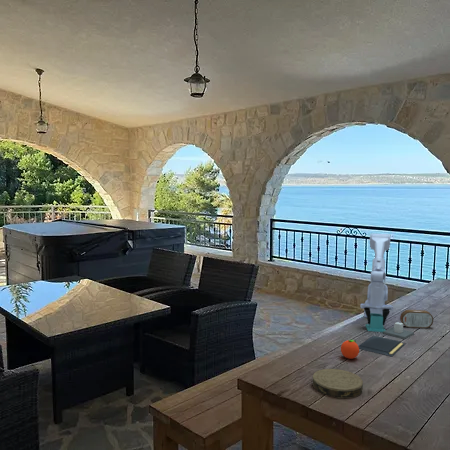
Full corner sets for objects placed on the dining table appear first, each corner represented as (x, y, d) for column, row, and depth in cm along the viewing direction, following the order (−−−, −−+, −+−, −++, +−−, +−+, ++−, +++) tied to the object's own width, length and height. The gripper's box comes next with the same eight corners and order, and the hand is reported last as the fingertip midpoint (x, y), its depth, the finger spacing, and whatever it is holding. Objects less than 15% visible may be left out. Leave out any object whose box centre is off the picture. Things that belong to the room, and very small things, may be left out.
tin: (431, 327, 206) (432, 310, 206) (433, 329, 203) (434, 312, 202) (399, 325, 208) (400, 308, 207) (401, 327, 204) (402, 310, 204)
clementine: (347, 352, 170) (348, 335, 169) (363, 357, 165) (364, 339, 164) (336, 357, 164) (337, 339, 164) (353, 363, 159) (354, 344, 159)
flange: (367, 330, 198) (368, 316, 198) (365, 325, 206) (366, 312, 206) (385, 332, 197) (386, 317, 196) (382, 327, 205) (383, 313, 204)
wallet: (372, 333, 191) (407, 341, 181) (372, 337, 191) (407, 345, 181) (354, 344, 176) (391, 354, 166) (354, 349, 176) (391, 358, 166)
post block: (382, 333, 195) (383, 323, 194) (392, 329, 202) (393, 318, 201) (404, 339, 187) (405, 328, 187) (413, 334, 194) (414, 323, 194)
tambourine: (332, 402, 129) (333, 393, 129) (303, 381, 144) (303, 372, 143) (373, 393, 135) (373, 384, 135) (341, 374, 150) (341, 366, 150)
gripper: (362, 296, 198) (361, 325, 199) (395, 298, 195) (393, 327, 196) (360, 293, 205) (359, 321, 205) (392, 295, 202) (390, 323, 203)
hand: (375, 324), depth 201 cm, fingers open, 6 cm apart
